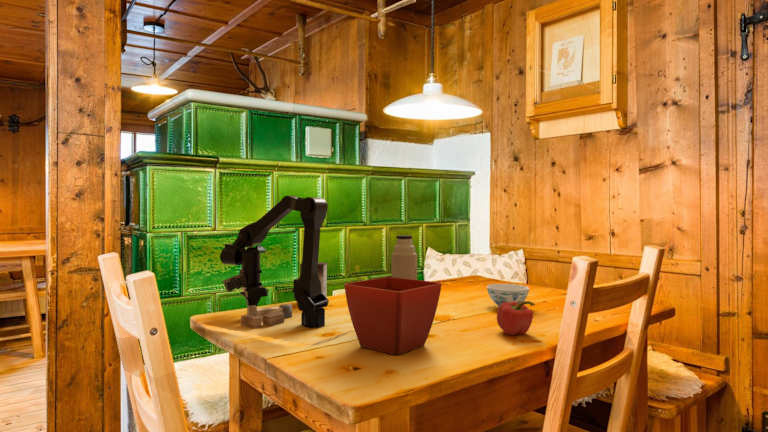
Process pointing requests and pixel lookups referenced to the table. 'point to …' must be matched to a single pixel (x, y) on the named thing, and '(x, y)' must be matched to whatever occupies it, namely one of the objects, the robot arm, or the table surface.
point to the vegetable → (514, 317)
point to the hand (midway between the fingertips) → (251, 314)
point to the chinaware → (507, 293)
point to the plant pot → (392, 312)
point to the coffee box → (321, 275)
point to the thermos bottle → (404, 258)
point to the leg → (270, 310)
